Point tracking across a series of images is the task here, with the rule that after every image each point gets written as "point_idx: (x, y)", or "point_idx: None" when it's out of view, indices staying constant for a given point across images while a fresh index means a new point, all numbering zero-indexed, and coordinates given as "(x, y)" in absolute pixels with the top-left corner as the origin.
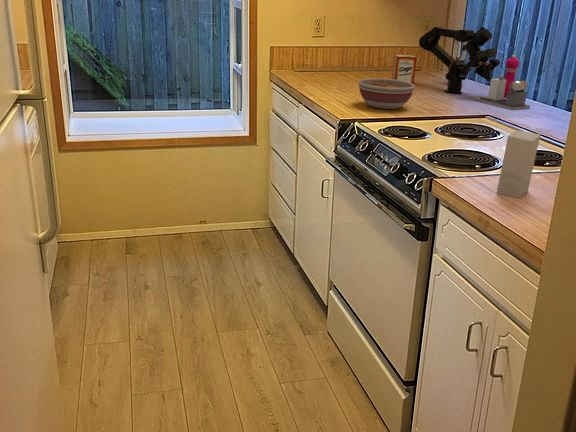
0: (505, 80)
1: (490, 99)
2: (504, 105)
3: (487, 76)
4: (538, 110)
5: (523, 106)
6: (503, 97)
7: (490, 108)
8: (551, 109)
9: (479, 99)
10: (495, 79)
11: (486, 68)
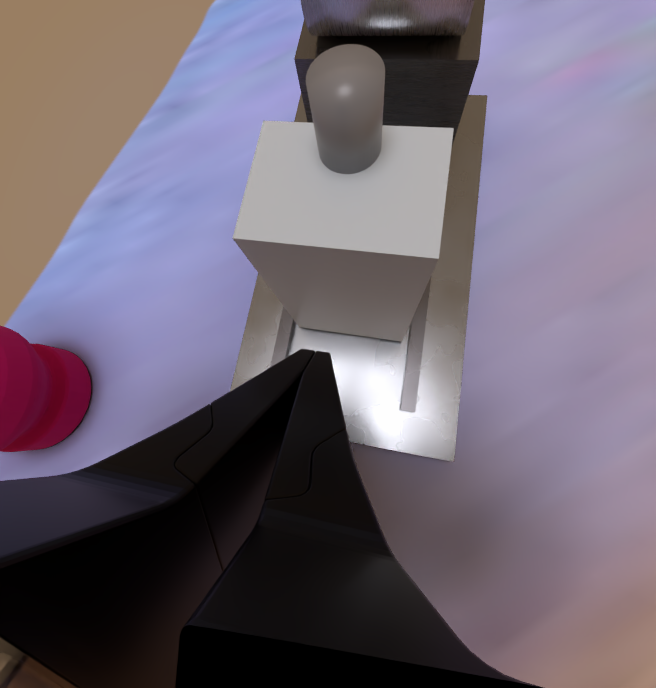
0: (285, 126)
1: (428, 298)
2: (481, 153)
3: (337, 395)
4: None
5: None
6: (90, 395)
7: (594, 199)
8: (217, 52)
9: (460, 388)
10: (401, 202)
11: (148, 573)
